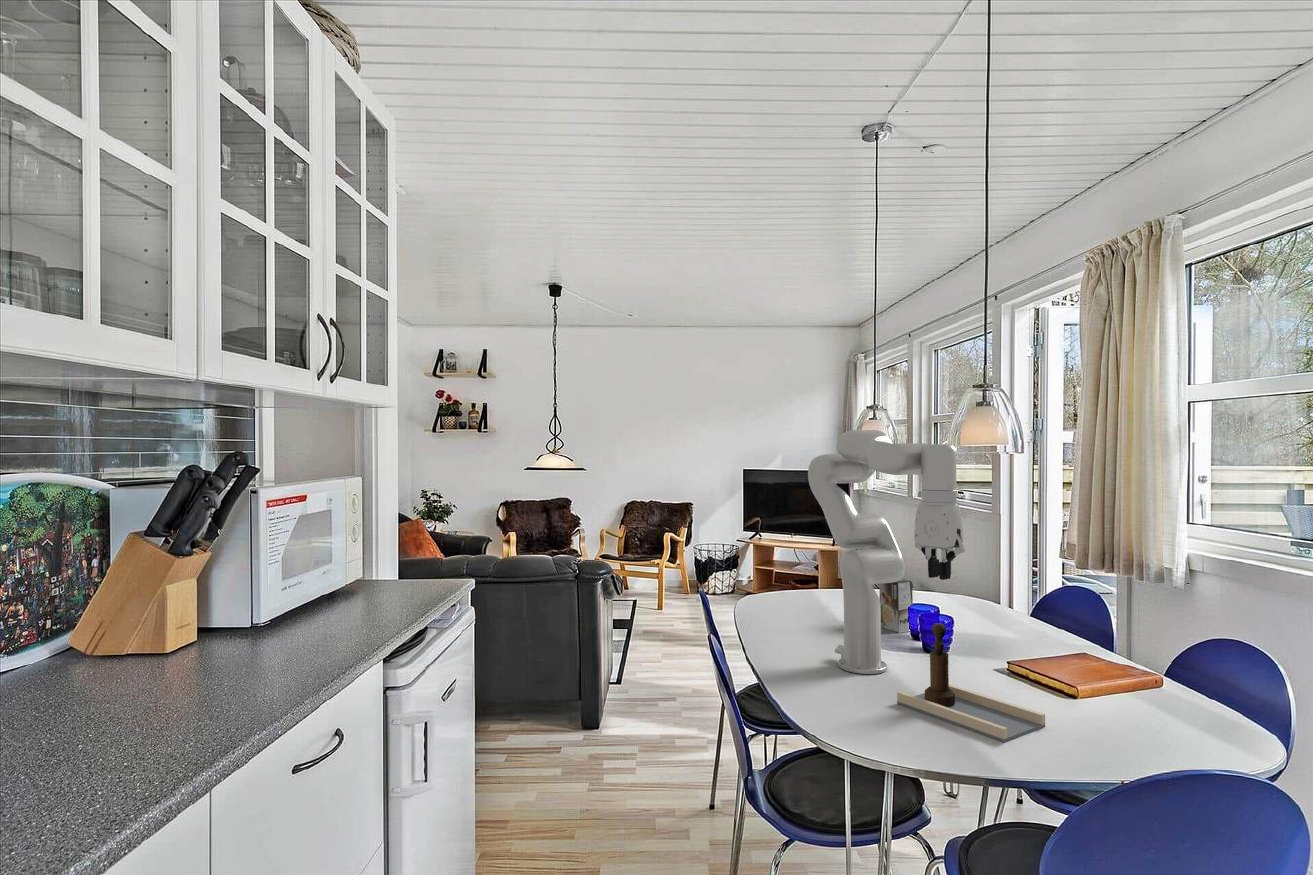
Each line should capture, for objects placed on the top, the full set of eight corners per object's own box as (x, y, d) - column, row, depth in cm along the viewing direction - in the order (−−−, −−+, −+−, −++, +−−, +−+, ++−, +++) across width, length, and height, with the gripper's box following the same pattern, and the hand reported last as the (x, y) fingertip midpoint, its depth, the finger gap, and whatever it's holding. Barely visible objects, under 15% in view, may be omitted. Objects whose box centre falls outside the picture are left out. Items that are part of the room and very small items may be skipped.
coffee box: (914, 631, 231) (913, 581, 231) (898, 633, 228) (898, 582, 229) (893, 624, 240) (893, 576, 240) (878, 626, 237) (878, 577, 237)
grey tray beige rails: (897, 703, 166) (897, 692, 166) (938, 691, 174) (938, 680, 174) (1004, 742, 144) (1003, 729, 144) (1045, 726, 152) (1045, 714, 152)
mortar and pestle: (918, 699, 167) (917, 621, 168) (940, 695, 170) (940, 618, 170) (938, 708, 161) (938, 627, 161) (961, 705, 163) (961, 625, 164)
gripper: (899, 496, 170) (899, 574, 170) (960, 500, 157) (960, 585, 157) (919, 495, 175) (920, 571, 174) (980, 499, 161) (981, 581, 161)
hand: (939, 577), depth 166 cm, fingers closed
